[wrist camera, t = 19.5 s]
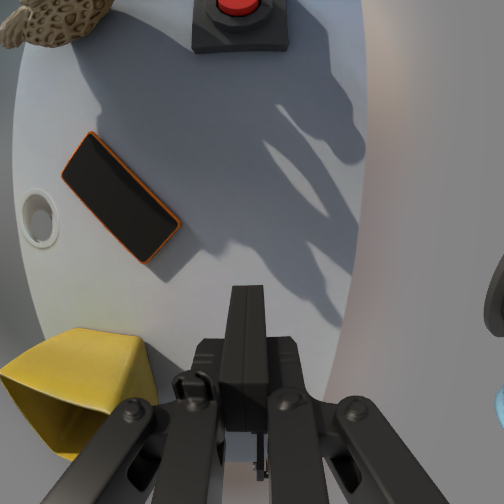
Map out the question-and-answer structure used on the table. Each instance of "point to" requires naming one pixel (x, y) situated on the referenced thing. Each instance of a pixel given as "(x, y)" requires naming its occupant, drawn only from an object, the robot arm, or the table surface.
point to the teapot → (52, 22)
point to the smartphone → (119, 199)
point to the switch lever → (266, 474)
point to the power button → (238, 6)
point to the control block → (239, 28)
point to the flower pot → (77, 384)
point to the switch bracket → (260, 455)
